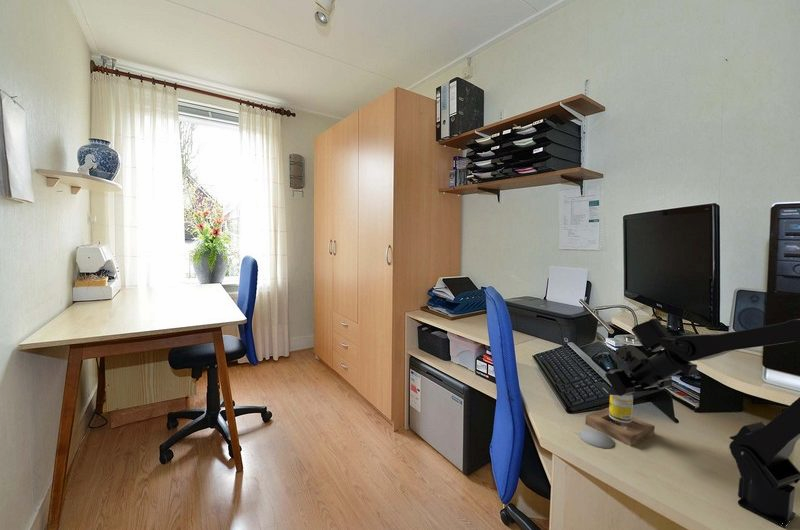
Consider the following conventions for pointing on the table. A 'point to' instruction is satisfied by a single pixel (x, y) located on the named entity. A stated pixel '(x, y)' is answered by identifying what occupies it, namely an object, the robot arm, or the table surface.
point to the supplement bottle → (621, 408)
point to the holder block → (629, 436)
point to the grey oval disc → (596, 438)
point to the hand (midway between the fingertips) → (616, 391)
